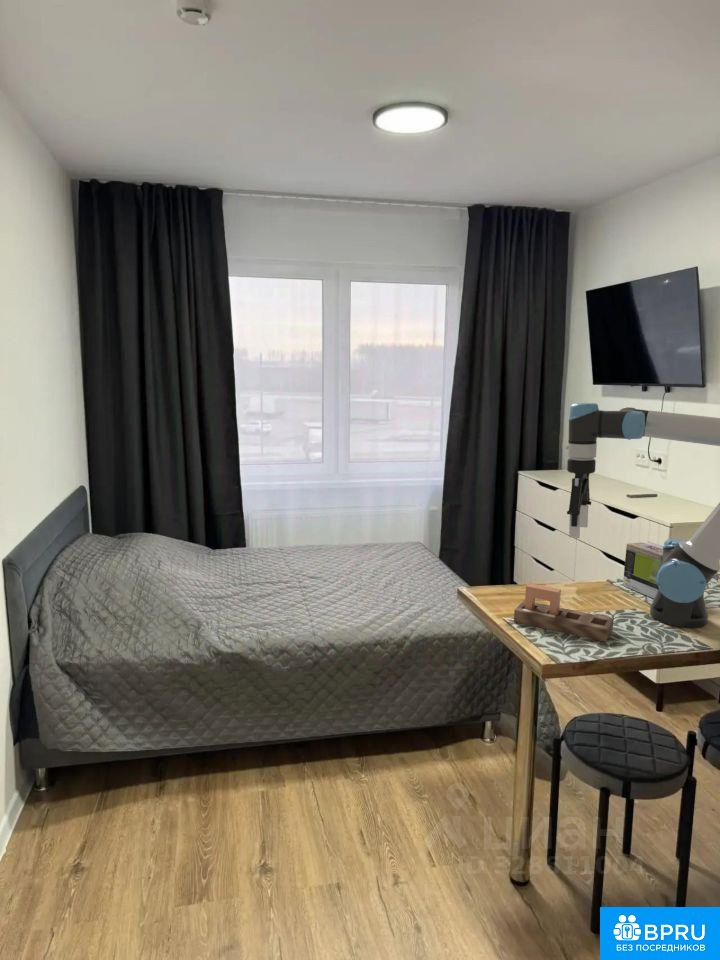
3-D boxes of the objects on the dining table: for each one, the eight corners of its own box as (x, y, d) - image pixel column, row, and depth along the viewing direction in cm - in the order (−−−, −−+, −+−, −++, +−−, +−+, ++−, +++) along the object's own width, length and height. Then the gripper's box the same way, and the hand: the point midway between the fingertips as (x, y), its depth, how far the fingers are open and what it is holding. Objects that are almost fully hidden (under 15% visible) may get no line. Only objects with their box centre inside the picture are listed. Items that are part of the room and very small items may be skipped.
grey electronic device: (680, 597, 209) (686, 552, 207) (656, 601, 206) (661, 555, 203) (644, 582, 223) (649, 540, 220) (621, 585, 219) (625, 542, 217)
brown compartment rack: (612, 630, 182) (613, 617, 182) (606, 642, 175) (607, 628, 174) (523, 611, 195) (524, 599, 194) (513, 621, 187) (514, 609, 186)
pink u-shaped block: (558, 623, 187) (560, 589, 185) (555, 626, 184) (558, 592, 182) (526, 616, 191) (529, 583, 189) (523, 619, 189) (526, 586, 187)
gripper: (575, 452, 198) (572, 521, 202) (559, 463, 177) (556, 540, 180) (602, 453, 195) (598, 524, 198) (588, 464, 173) (584, 543, 177)
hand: (578, 532), depth 189 cm, fingers open, 13 cm apart
